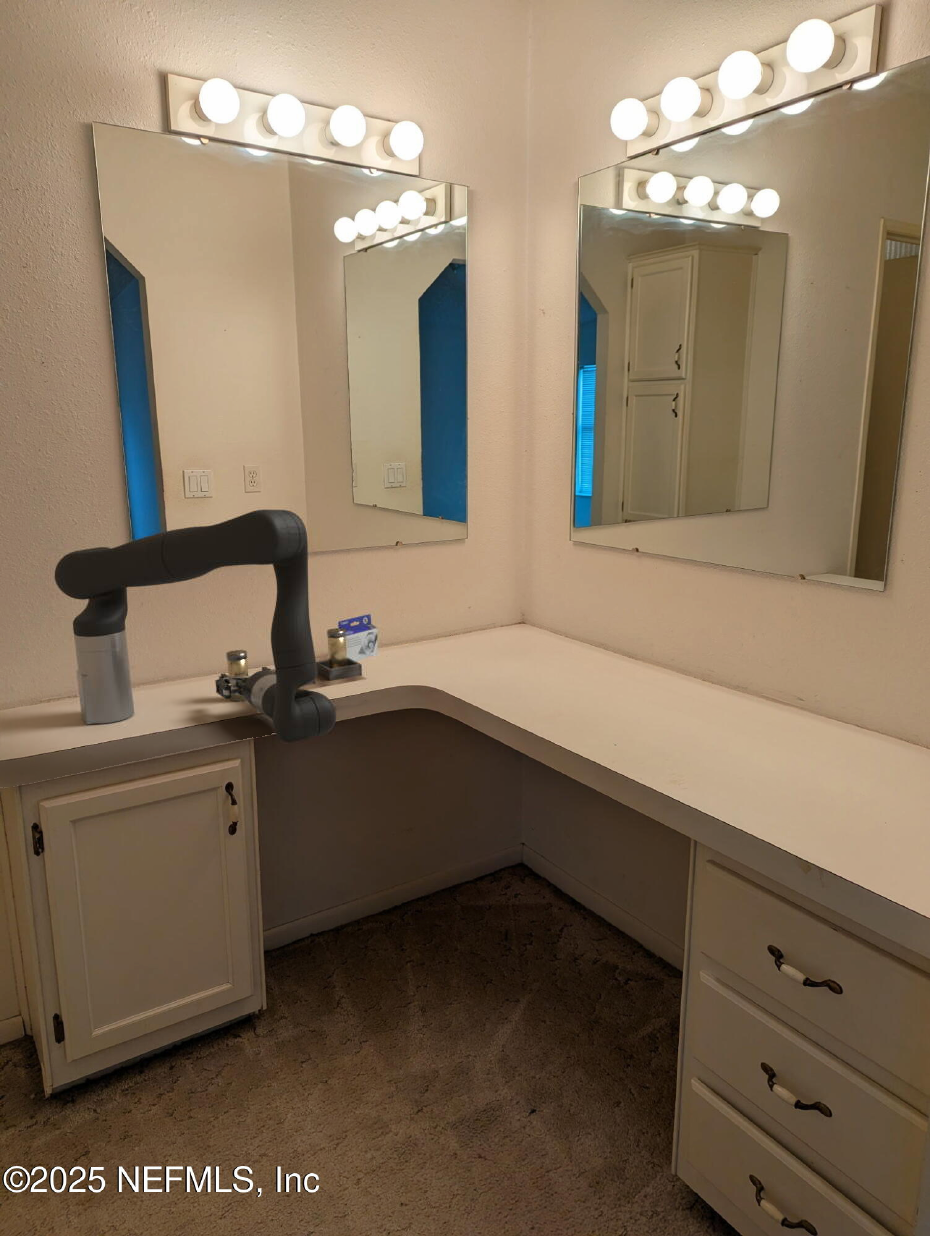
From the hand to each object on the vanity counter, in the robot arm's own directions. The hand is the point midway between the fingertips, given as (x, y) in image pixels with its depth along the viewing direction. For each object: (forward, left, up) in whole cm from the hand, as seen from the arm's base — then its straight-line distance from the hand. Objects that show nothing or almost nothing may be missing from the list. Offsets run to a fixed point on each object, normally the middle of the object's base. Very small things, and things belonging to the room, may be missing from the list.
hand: (243, 675), depth 173 cm
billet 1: (0, +4, -6) cm, 7 cm away
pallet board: (+17, +4, -6) cm, 18 cm away
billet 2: (+23, +4, -5) cm, 23 cm away
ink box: (+32, +13, -6) cm, 35 cm away
